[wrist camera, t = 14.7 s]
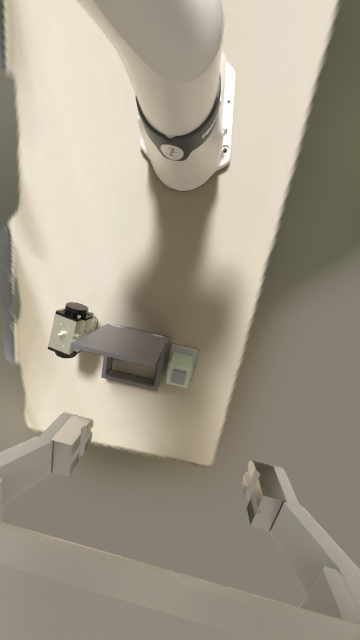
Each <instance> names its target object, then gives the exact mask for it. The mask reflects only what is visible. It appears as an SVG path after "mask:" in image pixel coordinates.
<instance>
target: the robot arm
mask: <svg viewBox="0 0 360 640" xmlns="http://www.w3.org/2000/svg"><path fill="white" fill-rule="evenodd" d="M76 1H77V2H78V3H79V4H80V5H81V7H82V8H83V9H84V10H85V11H86V12H87V13H88V15H89V16H90V17H91V18H92V19H93V20H94V22H95V23H96V24H97V25H98V27H99V28H100V29H101V30H102V31H103V33H104V34H105V35H106V37H107V38H108V39H109V41H110V42H111V44H112V45H113V47H114V48H115V50H116V51H117V53H118V55H119V57H120V58H121V60H122V62H123V65H124V67H125V69H126V72H127V74H128V76H129V79H130V81H131V84H132V86H133V88H134V91H135V94H136V102H137V107H138V112H139V116H138V124H139V128H140V131H141V138H140V146H141V149H142V151H143V152H144V153H145V155H146V156H147V157H148V158H149V159H150V161H151V163H152V166H153V169H154V171H155V173H156V175H157V176H158V178H159V179H160V180H161V181H162V182H163V183H164V184H165V185H166V186H168V187H170V188H172V189H175V190H179V191H188V190H192V189H195V188H197V187H199V186H201V185H202V184H204V183H205V182H206V181H207V180H208V179H209V178H210V177H211V176H212V175H213V174H214V173H215V172H216V171H218V170H220V169H222V168H224V167H225V166H227V165H228V164H229V162H230V157H231V142H232V125H233V109H234V93H235V70H234V69H233V68H232V67H231V65H230V64H228V63H227V59H226V56H225V54H224V52H223V51H222V43H223V33H224V21H225V13H224V2H223V0H76ZM224 150H226V153H223V151H224ZM92 427H93V420H91V419H88V418H84V417H81V416H77V415H73V414H70V413H66V412H65V413H63V414H61V415H60V416H59V417H58V418H57V419H56V420H55V421H54V422H53V423H52V424H51V425H50V426H49V427H48V428H47V429H46V430H45V431H44V433H43V434H42V435H41V436H40V437H34V438H31V439H30V440H27V441H25V442H22V443H20V444H18V445H16V446H13V447H11V448H9V449H7V450H4V451H2V452H0V640H360V570H359V568H358V567H357V566H356V565H355V564H354V563H353V562H352V561H351V560H350V558H349V557H348V556H347V555H346V554H345V553H344V552H343V551H342V550H341V548H340V547H339V546H338V545H337V544H336V543H335V542H334V541H333V539H332V538H331V537H329V535H328V534H327V533H326V532H325V531H324V529H323V528H322V527H321V526H320V525H319V524H318V523H317V522H316V521H315V520H314V518H313V517H312V516H311V515H310V514H309V513H308V512H307V511H306V510H305V508H304V507H302V506H300V505H299V503H298V500H297V498H296V496H295V494H294V491H293V489H292V487H291V485H290V482H289V480H288V478H287V475H286V473H285V471H284V469H283V468H281V467H277V466H273V465H269V464H265V463H261V462H257V461H253V460H251V461H250V462H249V464H248V469H249V471H247V472H246V473H245V475H244V478H243V492H244V496H245V498H246V500H247V501H248V506H247V512H248V517H249V522H250V526H253V527H256V528H259V529H262V530H266V531H269V532H270V534H271V536H272V538H273V540H274V541H275V543H276V545H277V546H278V548H279V550H280V551H281V553H282V554H283V556H284V558H285V560H286V561H287V563H288V565H289V566H290V568H291V570H292V571H293V573H294V574H295V576H296V578H297V580H298V581H299V583H300V585H301V586H302V588H303V590H304V591H305V593H306V595H307V596H306V597H305V599H304V601H303V602H302V604H301V606H300V607H296V606H293V605H289V604H285V603H282V602H279V601H275V600H272V599H268V598H265V597H261V596H258V595H254V594H251V593H247V592H243V591H240V590H237V589H233V588H229V587H226V586H223V585H219V584H216V583H212V582H209V581H205V580H201V579H198V578H195V577H191V576H188V575H184V574H181V573H178V572H174V571H171V570H167V569H164V568H160V567H156V566H153V565H150V564H146V563H142V562H139V561H135V560H132V559H129V558H125V557H121V556H118V555H114V554H110V553H107V552H104V551H100V550H97V549H94V548H90V547H86V546H83V545H80V544H76V543H73V542H69V541H66V540H62V539H59V538H55V537H51V536H48V535H45V534H41V533H38V532H34V531H30V530H27V529H24V528H20V527H16V526H13V525H10V524H6V523H3V508H4V507H5V506H6V505H8V504H9V503H10V502H12V501H13V500H15V499H16V498H18V497H19V496H21V495H22V494H23V493H25V492H26V491H28V490H29V489H30V488H32V487H33V486H35V485H36V484H38V483H39V482H40V481H42V480H43V479H44V478H46V477H47V476H49V475H50V474H51V473H56V474H60V475H64V476H68V477H69V476H70V474H71V473H72V472H73V470H74V469H75V467H76V466H77V464H78V461H79V457H80V456H82V455H83V454H84V453H85V452H86V450H87V448H88V446H89V444H90V441H91V438H92V432H91V428H92Z"/></svg>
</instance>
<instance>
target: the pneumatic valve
mask: <svg viewBox="0 0 360 640" xmlns="http://www.w3.org/2000/svg"><path fill="white" fill-rule="evenodd" d="M97 320H98V319H97V317H95V318H94V315H93V313H91V312H88V307H87V306H85V305H82V304H79V303H73V302H70V303H67V304H66V306H65V309H60V310H58V311H56V314H55V318H54V323H53V328H52V332H51V337H50V341H49V346H48V349H49V350H52V351H54V352H55V354H56V355H57V356H59V357H62V358H72V357H75V356H76V355H77V354H78V353H79V352H81V351H82V350H78V349H74V348H70V345H71V343H72V342H74V341H76V340H78V339H80V338H82V337H84V336H86V335H88V334H89V333H90V332H92V331H94V330H95V327H96V324H97Z"/></svg>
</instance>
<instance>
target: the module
mask: <svg viewBox="0 0 360 640" xmlns="http://www.w3.org/2000/svg"><path fill="white" fill-rule="evenodd" d="M192 361H193V356H190V355H186V354H181V353H177V352H174V353H173V356H172V359H171V362H170V365H169V370H168V375H167V379H166V384H170V385H174V386H178V387H182V388H186V389H187V387H188V383H189V379H190V374H191V370H192Z"/></svg>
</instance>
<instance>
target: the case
mask: <svg viewBox="0 0 360 640" xmlns="http://www.w3.org/2000/svg"><path fill="white" fill-rule="evenodd" d="M168 340H169V337H167V336H163V335H158V334H154V333H150V332H145V331H141V330H137V329H132V328H128V327H124V326H119V325H115V324H107V325H105V326H103V327H101V328H99V329H97V330H95V331H93V332H91V333H90V334H88V335H86V336H84V337H82V338H80V339H78V340H76V341H74V342H72V343H71V345H70V348H74V349H78V350H82V351H86V352H90V353H95V354H99V355H103V356H104V360H103V368H102V376H101V377H102V378H106V379H110V380H114V381H118V382H122V383H126V384H130V385H134V386H138V387H142V388H146V389H150V390H154V391H157V390H158V387H159V384H160V379H161V374H162V370H163V365H164V360H165V355H166V350H167V345H168ZM159 357H160V359H159ZM112 358H115V359H119V360H124V361H128V362H132V363H136V364H140V365H144V366H149V367H153V368H154V367H155V365H156V363H157V361H158V359H159V364H158V369H157V374H156V379H155V380H151V379H147V378H143V377H139V376H135V375H131V374H127V373H123V372H119V371H115V370H111V363H112Z"/></svg>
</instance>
